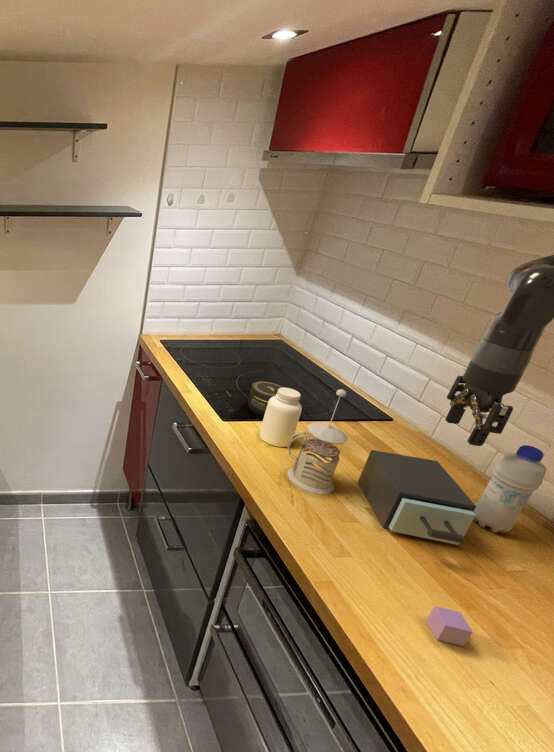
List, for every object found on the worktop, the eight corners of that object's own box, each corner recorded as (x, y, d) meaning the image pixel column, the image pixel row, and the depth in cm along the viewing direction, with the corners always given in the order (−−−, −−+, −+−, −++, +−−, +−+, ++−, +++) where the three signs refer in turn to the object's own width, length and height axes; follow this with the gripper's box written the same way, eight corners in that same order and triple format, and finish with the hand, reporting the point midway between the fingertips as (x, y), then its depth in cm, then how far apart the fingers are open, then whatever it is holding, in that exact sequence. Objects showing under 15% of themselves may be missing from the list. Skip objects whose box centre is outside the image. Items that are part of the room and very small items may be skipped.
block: (451, 626, 75) (460, 611, 73) (463, 646, 72) (473, 632, 70) (425, 619, 76) (434, 605, 74) (436, 639, 73) (445, 625, 71)
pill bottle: (294, 439, 123) (310, 392, 117) (285, 451, 118) (301, 403, 112) (264, 427, 128) (277, 381, 122) (254, 439, 123) (267, 391, 117)
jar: (259, 399, 143) (265, 378, 140) (289, 413, 136) (296, 391, 132) (239, 406, 139) (245, 385, 136) (269, 422, 131) (276, 399, 128)
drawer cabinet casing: (455, 543, 91) (476, 506, 87) (382, 527, 94) (399, 491, 90) (420, 494, 104) (437, 460, 100) (357, 482, 107) (371, 449, 103)
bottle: (462, 509, 100) (503, 434, 92) (501, 519, 97) (547, 443, 89) (473, 529, 94) (519, 452, 86) (516, 541, 92) (566, 462, 83)
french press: (338, 499, 102) (375, 405, 92) (281, 485, 106) (311, 393, 96) (329, 473, 110) (363, 384, 100) (277, 461, 114) (304, 374, 104)
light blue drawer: (473, 565, 85) (492, 534, 82) (401, 549, 88) (417, 519, 85) (425, 499, 101) (439, 471, 98) (366, 488, 104) (377, 461, 101)
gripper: (548, 383, 80) (505, 456, 87) (498, 352, 92) (464, 418, 99) (496, 377, 82) (459, 449, 89) (454, 347, 95) (424, 412, 101)
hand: (462, 433), depth 94 cm, fingers open, 8 cm apart
